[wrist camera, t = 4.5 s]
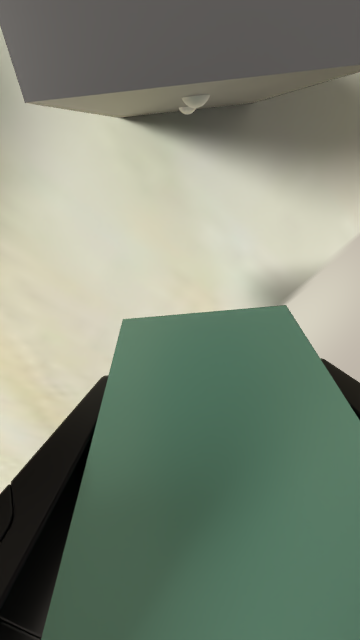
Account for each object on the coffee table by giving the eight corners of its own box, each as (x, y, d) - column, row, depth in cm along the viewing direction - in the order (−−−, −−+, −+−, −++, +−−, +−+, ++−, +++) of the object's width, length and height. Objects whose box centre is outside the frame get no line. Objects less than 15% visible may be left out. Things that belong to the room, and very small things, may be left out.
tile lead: (279, 346, 10) (550, 898, 3) (132, 358, 11) (39, 907, 3) (286, 305, 9) (723, 988, 2) (123, 319, 10) (-52, 1000, 2)
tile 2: (251, 109, 12) (392, 78, 4) (120, 123, 12) (30, 119, 4) (254, 42, 10) (456, -164, 3) (108, 59, 11) (-39, -96, 3)
